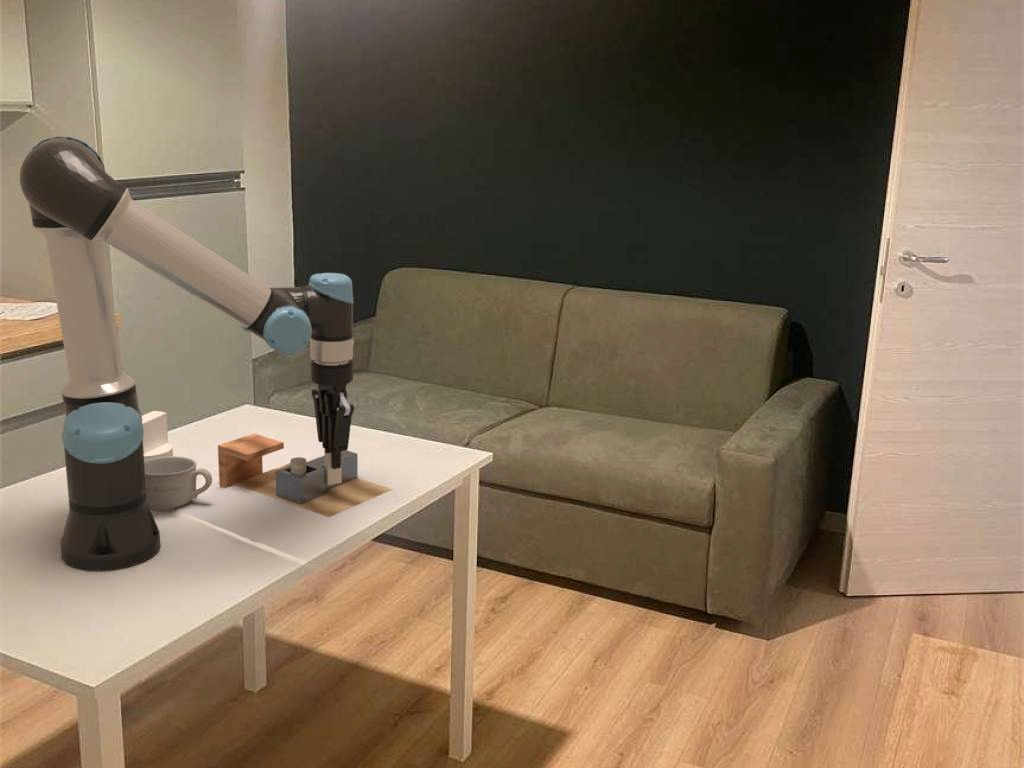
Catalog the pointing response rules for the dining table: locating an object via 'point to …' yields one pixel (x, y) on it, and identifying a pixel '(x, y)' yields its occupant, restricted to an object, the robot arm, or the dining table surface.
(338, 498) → the board
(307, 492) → the grey socket block
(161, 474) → the teacup
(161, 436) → the cylinder with rectangular tab
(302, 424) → the dining table surface
